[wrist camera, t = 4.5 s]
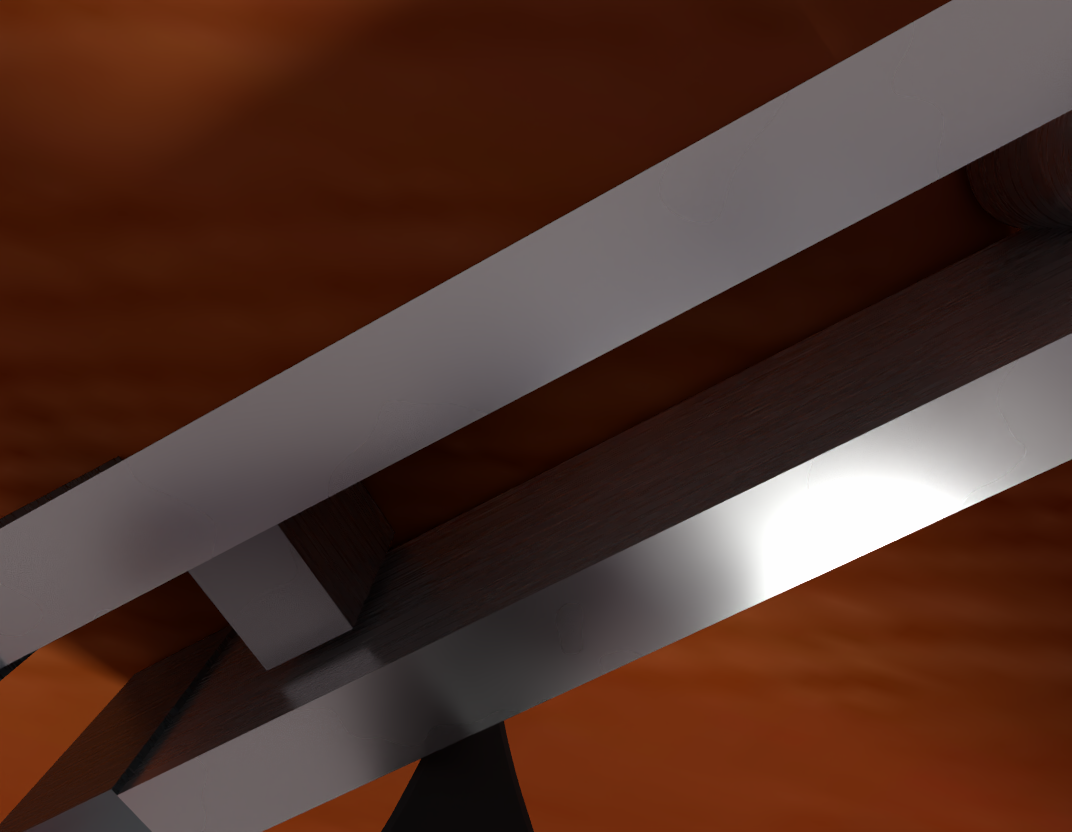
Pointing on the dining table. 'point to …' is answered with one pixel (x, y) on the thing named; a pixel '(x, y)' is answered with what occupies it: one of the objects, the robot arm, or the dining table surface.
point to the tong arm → (622, 541)
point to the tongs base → (514, 338)
